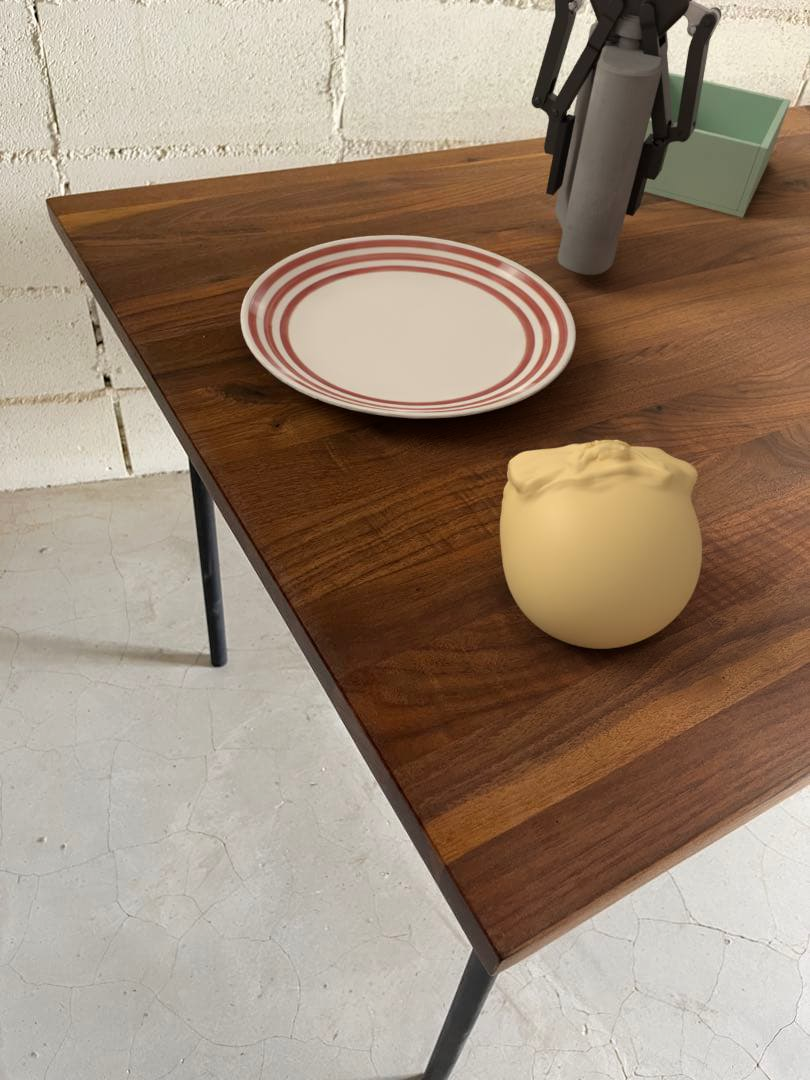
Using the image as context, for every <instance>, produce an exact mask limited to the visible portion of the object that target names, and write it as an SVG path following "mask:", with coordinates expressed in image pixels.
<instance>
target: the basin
mask: <svg viewBox="0 0 810 1080" xmlns="http://www.w3.org/2000/svg"><path fill="white" fill-rule="evenodd" d="M669 82H670V94H671V107H672V119H673V123H676V122H677V121H678V115H679V108H680V102H681V95H682V88H683V82H684V75H682V74H679V73H678V74H677V73H673V72H669ZM791 102H792V101H791V99H789V98H788V99H787V98H784V97H779V96H775V95H770V94H766V93H761V92H758V91H753V90H749V89H744V88H739V87H735V86H731V85H727V84H722V83H718V82H713V81H710V80H709V81H708V80H704V79H703V84H702V90H701V96H700V102H699V108H698V114H697V120H696V126H695V129H694V131H693V133H692V134H691V136H690V137H689V138H688V140H687V141H685V142H679V141H676V142H671V143H669V145H668V149H667V152H666V156H665V159H664V163H663V167H662V170H661V172H660V173H659V175H658V176H657V177H656V179H655V180H652V179H647V182H646V185H645V189H644V193H648V194H652V195H656V196H659V197H663V198H666V199H671V200H675V201H678V202H683V203H686V204H690V205H694V206H697V207H701V208H705V209H709V210H713V211H716V212H720V213H724V214H728V215H732V216H735V217H739V218H744V216H745V214H746V212H747V209H748V207H749V205H750V203H751V201H752V199H753V197H754V195H755V192H756V191H757V188H758V185H759V183H760V181H761V179H762V177H763V175H764V173H765V171H766V168H767V166H768V164H769V162H770V158H771V157H772V153H773V150H774V148H775V145H776V142H777V140H778V137H779V135H780V131H781V129H782V126H783V124H784V120H785V118H786V115H787V112H788V109H789V108H790V104H791ZM650 134H653V131H652V121H651V116H650V120H649V124H648V127H647V131H646V135H645V139H644V141H645V140H646V139H647V138H648V136H649V135H650Z"/></svg>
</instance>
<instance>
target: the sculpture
mask: <svg viewBox="0 0 810 1080" xmlns="http://www.w3.org/2000/svg"><path fill="white" fill-rule="evenodd" d="M506 477H507V482H506V484H505V485H504V488H503V492H502V495H503V497H502V500H501V512H500V518H499V540H500V550H501V551H500V552H501V560H502V568H503V573H504V577H505V580H506V583H507V585H508V590H509V591H510V594H511V595H512V597H513V599H514V601H515V604H517V606H518V607H519V609H520V610H521V612H522V613H523V614H524V616H525V617H527V618H528V620H530V621H531V623H532V624H534V626H536V627H537V628H538V629H540V630H541V631H542V632H544V633H546V634H547V635H548V636H551V637H553V638H554V639H557V640H558V641H561V642H564V643H566V644H569V645H573V646H577V647H581V648H586V649H594V650H595V649H596V650H597V649H598V650H607V649H616V648H621V647H626V646H630V645H634V644H636V643H638V642H641V641H643V640H646V639H648V638H650V637H652V636H654V635H656V634H657V633H659V632H660V631H662V630H663V629H664V628H666V627H667V626H668V625H669V624H671V623H672V622H673V621H674V620H675V619H676V618H677V617H678V616H679V615H680V614H681V612H682V611H683V610H684V609H685V607H686V606H687V604H688V603H689V601H690V600H691V597H692V596H693V594H694V591H695V589H696V587H697V584H698V581H699V577H700V573H701V568H702V560H703V540H702V533H701V528H700V523H699V519H698V517H697V514H696V511H695V508H694V505H693V502H692V494H693V489H694V487H695V485H696V482H697V480H698V478H699V474H698V471H697V469H696V468H695V466H693V465H692V464H691V463H690V462H687V461H685V460H682V459H679V458H676V457H674V456H671V455H670V454H669V453H667V452H666V451H664V450H663V449H661V448H659V447H653V446H652V447H651V446H638V445H637V446H634V445H632V446H631V445H630V444H629V443H627V442H626V441H621V440H620V439H601V440H597V439H596V440H593V441H590V442H584V443H571V444H567V445H565V446H560V447H552V448H541V449H533V450H526V451H522V452H520V453H518V454H517V455H515V456H514V457H512V458H511V459H510V460H509V461H508V464H507V472H506Z"/></svg>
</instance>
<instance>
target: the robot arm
mask: <svg viewBox="0 0 810 1080" xmlns="http://www.w3.org/2000/svg"><path fill="white" fill-rule="evenodd" d="M589 3H590V6H591V8H592V10H593V13H594V15H595V19H596V22H598V24H597V26H596V28H595V29H594V31H593V33H592V35H591V36H590V38H589V37H588V38H589V40H588V39H587V42H586V45H585V46H584V49H583V51H582V52H581V54H580V55H579V57H578V59H577V61H576V63H575V64H574V65H573V67H572V69H571V71H570V73H569V75H568V77H567V78H566V80H565V82H564V84H563V85H562V87H561V89H560V91H559V93H558V94H557V95H556V94H555V93H554V90H555V88H556V85H557V82H558V78H559V76H560V71H561V69H562V65H563V62H564V59H565V55H566V51H567V48H568V46H569V41H570V38H571V35H572V31H573V28H574V26H575V25H574V24H575V22H576V17H577V13H578V11H580V10H581V9H582V8H583V7H584V4H585V0H554V18H553V22H552V26H551V30H550V33H549V36H548V40H547V43H546V48H545V51H544V54H543V58H542V61H541V65H540V68H539V72H538V75H537V79H536V83H535V86H534V90H533V93H532V97H531V101H530V102H531V105H532V107H533V108H535V109H540V110H542V111H543V112H544V113H545V114H546V115H547V118H548V122H547V128H546V135H545V139H544V145H543V149H544V154H546V155H550V156H552V159H551V163H550V170H549V175H548V180H547V185H546V190H545V194H546V195H551V196H554V195H555V194H557V193H558V191H559V188H560V187H561V186H562V183H563V178H564V173H565V168H566V163H567V158H568V153H569V148H570V143H571V138H572V133H573V128H574V123H575V117H576V116H574V114H569V113H568V111H569V110H570V109H571V107H572V104H573V103H574V101H575V99H577V94H578V93H579V91H580V89H581V87H582V86H583V84H584V82H585V81H586V79H587V77H588V76H589V74H590V72H591V70H592V69H593V67H594V64H595V62H596V60H597V58H598V55H599V53H600V51H601V48H602V46H603V45H604V43H605V42H606V41H607V40H608V41H610V42H615V43H619V39H620V38H621V36H620V35H618V34H616V33H615V32H616V27H617V23H618V18H621V17H622V16H627V15H628V14H630V15H635V16H639V20H640V27H641V32H642V40H639V39H638V42H640V44H639V48H643V53H644V54H647V55H652V56H657V57H659V56H660V55H663V57H664V64H663V68H662V72H661V76H660V80H659V84H658V88H657V92H656V96H655V100H654V104H653V108H652V112H651V121H652V131H653V134H650V135H649V136H648V138H647V139H646V140H645V141H644V143H643V147H642V151H641V155H640V159H639V163H638V167H637V171H636V175H635V179H634V183H633V187H632V190H631V194H630V198H629V202H628V206H627V210H626V214H625V215H627V216H631V217H634V215H636V212H638V209H640V206H641V204H642V200H643V197H644V193H645V192H644V189H645V185H646V182H647V179H652V180H655V179H656V177H657V176H658V175H659V173H660V172H661V170H662V167H663V163H664V159H665V156H666V152H667V149H668V145H669V143H671V142H676V141H679V142H685V141H687V140H688V138H689V137H690V136H691V134H692V133H693V131H694V129H695V126H696V120H697V114H698V108H699V102H700V96H701V90H702V84H703V80H704V77H705V71H706V64H707V60H708V54H709V47H710V41H711V39H712V37H713V35H714V33H715V30H716V29H717V27H718V25H719V22H720V20H721V18H722V10H721V9H720V8H719V7H717V6H712V7H710V8H708V7H707V6H705V5H703V4H701V3H699V2H696V1H694V0H589ZM683 17H685V18H686V19H687V28H686V31H687V34H688V36H689V37H691V40H690V43H689V46H688V50H687V56H686V62H685V63H686V64H685V70H684V75H683V76H684V82H683V88H682V95H681V102H680V108H679V115H678V121H677V122H676V123H673V119H672V107H671V94H670V82H669V73H670V71H669V59H668V51H669V41H668V31H669V30H671V28H673V26H675V24H677V22H679V21H680V19H682V18H683Z"/></svg>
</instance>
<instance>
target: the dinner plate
mask: <svg viewBox="0 0 810 1080" xmlns="http://www.w3.org/2000/svg"><path fill="white" fill-rule="evenodd" d="M240 327H241V332H242V336H243V339H244V341H245V343H246V345H247V347H248V348H249V351H250V352H251V354H253V356H254V357H255V359H256V360H257V361H258V362H259V363H260V365H262V366H263V367H264V368H265V369H266V370H267V371H268V372H269V373H270V374H271V375H273V376H274V377H275V378H277V380H279V381H281V382H282V383H283V384H285V385H287V386H289V387H291V388H293V389H294V390H296V391H297V392H299V393H302V394H304V395H307V396H309V397H311V398H313V399H314V400H319V401H320V402H324V403H326V404H329V405H333V406H335V407H339V408H344V409H347V410H350V411H355V412H359V413H364V414H370V415H377V416H382V417H383V416H384V417H391V418H403V419H404V418H406V419H443V418H444V419H447V418H457V417H466V416H472V415H476V414H482V413H486V412H491V411H495V410H498V409H502V408H505V407H508V406H510V405H514V404H517V403H518V402H521V401H523V400H525V399H528V398H529V397H531V396H533V395H535V394H538V393H539V392H540V391H541V390H543V389H544V388H546V387H547V386H549V385H550V384H551V383H552V382H553V381H555V380H556V379H557V378H558V377H559V375H561V373H562V372H563V371H564V370H565V368H566V367H567V365H568V363H570V360H571V358H572V355H573V353H574V350H575V347H576V338H577V337H576V335H577V332H576V325H575V320H574V317H573V314H572V312H571V309H570V308H569V307H568V304H567V303H566V302H565V300H564V299H563V298H562V297H561V295H560V294H559V293H558V292H557V291H556V290H555V289H554V288H553V287H552V286H551V285H550V284H549V283H547V281H545V280H544V279H543V278H541V277H540V276H538V275H537V273H534V272H533V271H531V270H530V269H528V268H527V267H525V266H523V265H522V264H520V263H517V262H516V261H514V260H511V259H509V258H507V257H506V256H502V255H500V254H497V253H495V252H491V251H489V250H486V249H484V248H480V247H477V246H474V245H470V244H467V243H462V242H458V241H453V240H448V239H443V238H436V237H429V236H428V237H427V236H418V235H404V234H403V235H401V234H392V235H391V234H390V235H389V234H387V235H386V234H383V235H367V236H357V237H349V238H348V237H347V238H343V239H337V240H333V241H329V242H324V243H321V244H317V245H314V246H310V247H308V248H305V249H303V250H300V251H297V252H295V253H293V254H290V255H288V256H287V257H284V258H283V259H282V260H280V261H278V262H276V263H275V264H273V265H271V267H269V268H267V270H265V271H264V272H263V273H262V274H261V275H260V276H259V277H257V279H256V280H255V281H254V282H253V283H252V284H251V285H250V287H249V289H248V290H247V292H246V293H245V296H244V298H243V301H242V304H241V308H240Z"/></svg>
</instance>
